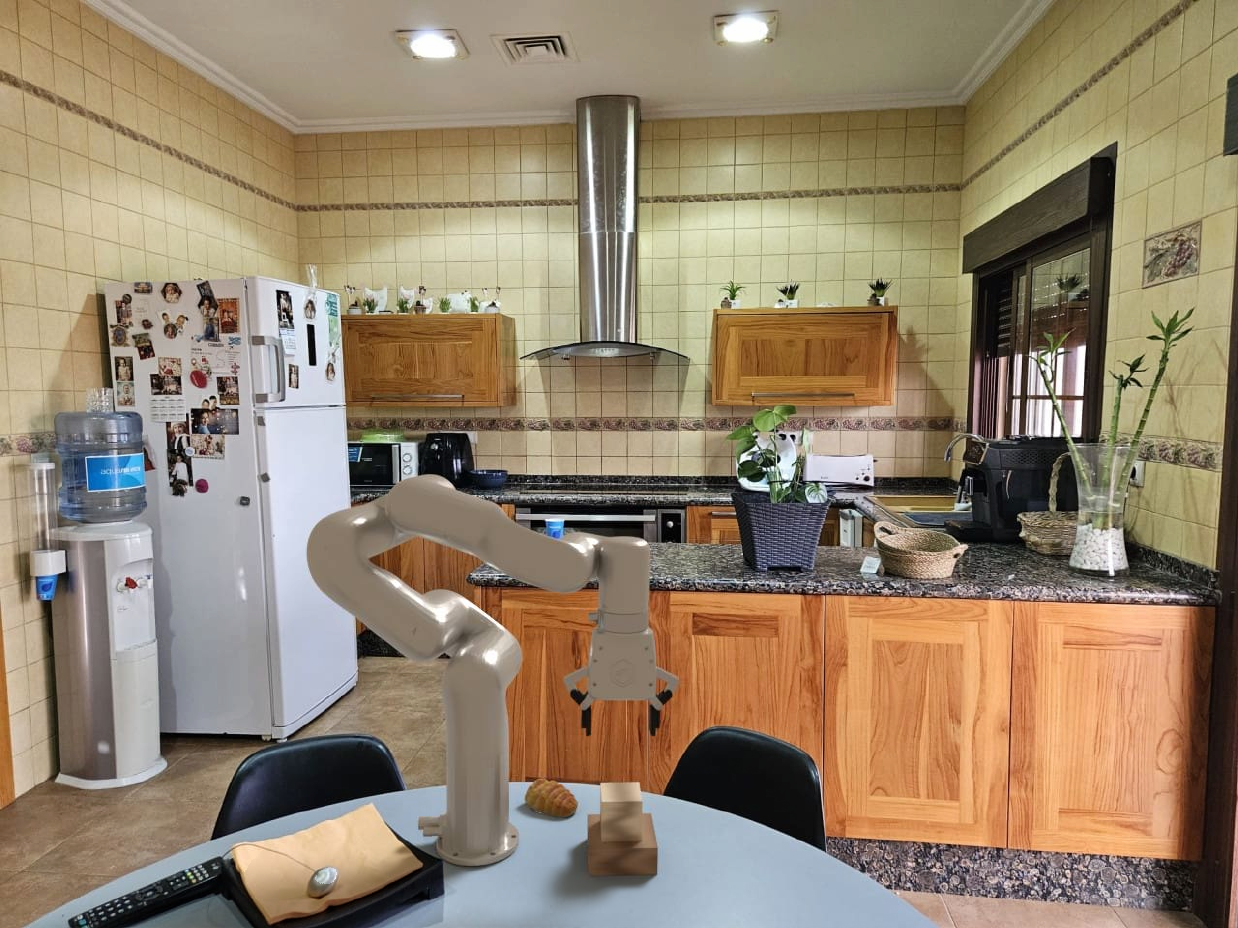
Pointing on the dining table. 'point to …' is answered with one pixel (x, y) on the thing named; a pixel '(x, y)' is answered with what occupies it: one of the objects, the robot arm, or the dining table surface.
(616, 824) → the maple cube
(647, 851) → the walnut base
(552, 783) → the pastry
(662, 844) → the dining table surface
